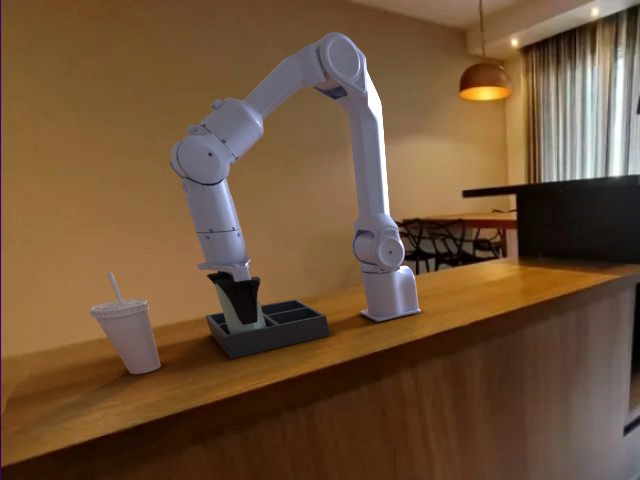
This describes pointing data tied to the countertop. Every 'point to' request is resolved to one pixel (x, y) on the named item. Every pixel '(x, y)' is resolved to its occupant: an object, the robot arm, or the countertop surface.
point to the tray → (271, 329)
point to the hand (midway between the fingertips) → (245, 319)
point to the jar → (233, 319)
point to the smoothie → (129, 330)
